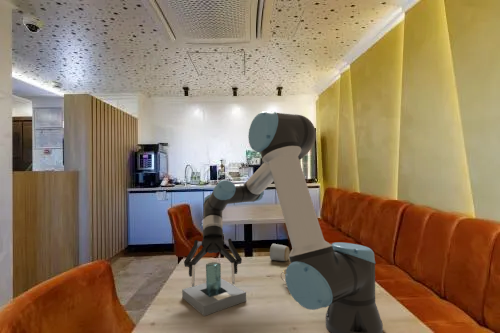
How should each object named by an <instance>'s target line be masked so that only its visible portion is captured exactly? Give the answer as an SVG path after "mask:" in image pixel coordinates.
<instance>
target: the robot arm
mask: <svg viewBox="0 0 500 333" xmlns="http://www.w3.org/2000/svg"><path fill="white" fill-rule="evenodd" d="M247 136H248V143H249V147H250V149H252V150H253V151H255V152H256V153H260V156H261V160H262V162H263V163H262V164H261V165H260V167H258V169H256V171H255V172H254V173H253V174H252V175H251V176H250V177H249V178H248V179H247V180H246V181H245V183H240V184H239V183H237V184H234V183H233V182H232V181H231V180H228V179H221V180H219V181H218V183H217V184H216V185H215V186H214V188H213V190H212V193H210V194H208V195H206V196H205V197H204V200H203V204H202V205H203V208H202V209H203V221H202V222H203V223H202V224H203V225H202V226H203V228H202V229H203V230H202V241H199V240H198V239H195V240H194V242H193V246H192V247H191V249H190V251H189V253H188V254H187V256H186V257H185V259H184V261H183V264H184V268H185V267H186V268H188V276H189V277H191V287H194V286H195V281H196V280H195V279H196V275H195V274H196V265H197V264H198V262H200V260H201V259H202V258H203V257H204V256H206V255H207V253H209V254H212V253H214V254H218V253H220V254H221V255H223V257H225V258H226V259H227V260H228V261H229V263H231V284H232V285H235V283H236V277H235V275H237V274H238V265H239V264H242V260H243V259H242V257H241V255H240V254H239V252H238V250H237V249H236V248H235V245H234V244H233V241H232V238H230V237H229V238H228V239H227V240H224V230H223V229H224V228H223V222H224V221H223V211H224V210H225V209H226V207H227V206H228V205H230V204H232V205H233V204H240V203H254V202H257V201H260V200H262V199H263V198H264V197H263V196H264V194H265V193H264V191H265V190H266V189H267V188H268V187H269V186H270V185H271V184H272V183H274V187H275V191H276V194H277V197H278V200H279V205H280V208H281V211H282V215H283V218H284V219H283V220H284V222H285V226H286V230H287V234H288V237H289V240H290V244H291V248H292V249H291V250H290V251H289V258H288V260H289V262H290V263H289V264H288V266H287V268H286V274H284V278H285V279H284V281H285V284H286V288H287V290H288V292H289V293H290V296H291V297H292V298H293V299H294V301H295V302H296V303H298V304H299V306H301V307H303V308H305V309H307V310H313V311H315V310H319V309H323V308H327V310H326V313H325V327H326V329H327V330H328V331H329V332H330V333H384V326H383V320H382V318H381V315H380V312H379V309H378V306H377V302H376V263H377V262H376V260H375V252H374V251H373V249H372V248H370V247H368V246H365V245H361V244H357V243H351V242H332V243H329V242H328V241H326V240H325V238H324V235H323V231H322V228H321V226H320V222H319V220H318V216H317V213H316V209H315V206H314V203H313V200H312V197H311V193H310V190H309V187H308V184H307V181H306V177H305V174H304V172H303V168H302V165H301V162H300V160H301V159H303V158H304V157H305V156H306V155H308V153H309V152H310V151H311V150H312V148H313V147H314V145H315V142H316V139H317V138H316V136H317V133H316V128H315V126H314V123H313V122H312V121H311V120H310V119H309V118H308V117H306V116H305V115H303V114H295V113H294V114H291V113H284V112H283V113H282V112H276V111H274V110H272V111H261V112H259V113H258V114H256V115H255V117H254V118H253V119H252V121H251V123H250V126H249V129H248V135H247ZM225 245H226V246H227V247H228V248H229V250H230V251H228V250H227V249H226V248H225ZM201 246H202V248H201ZM199 248H201V250H200V251H199V252H198V253H197V254H196V252H197V250H198V249H199ZM230 252H231V253H230ZM195 254H196V255H195Z"/></svg>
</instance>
